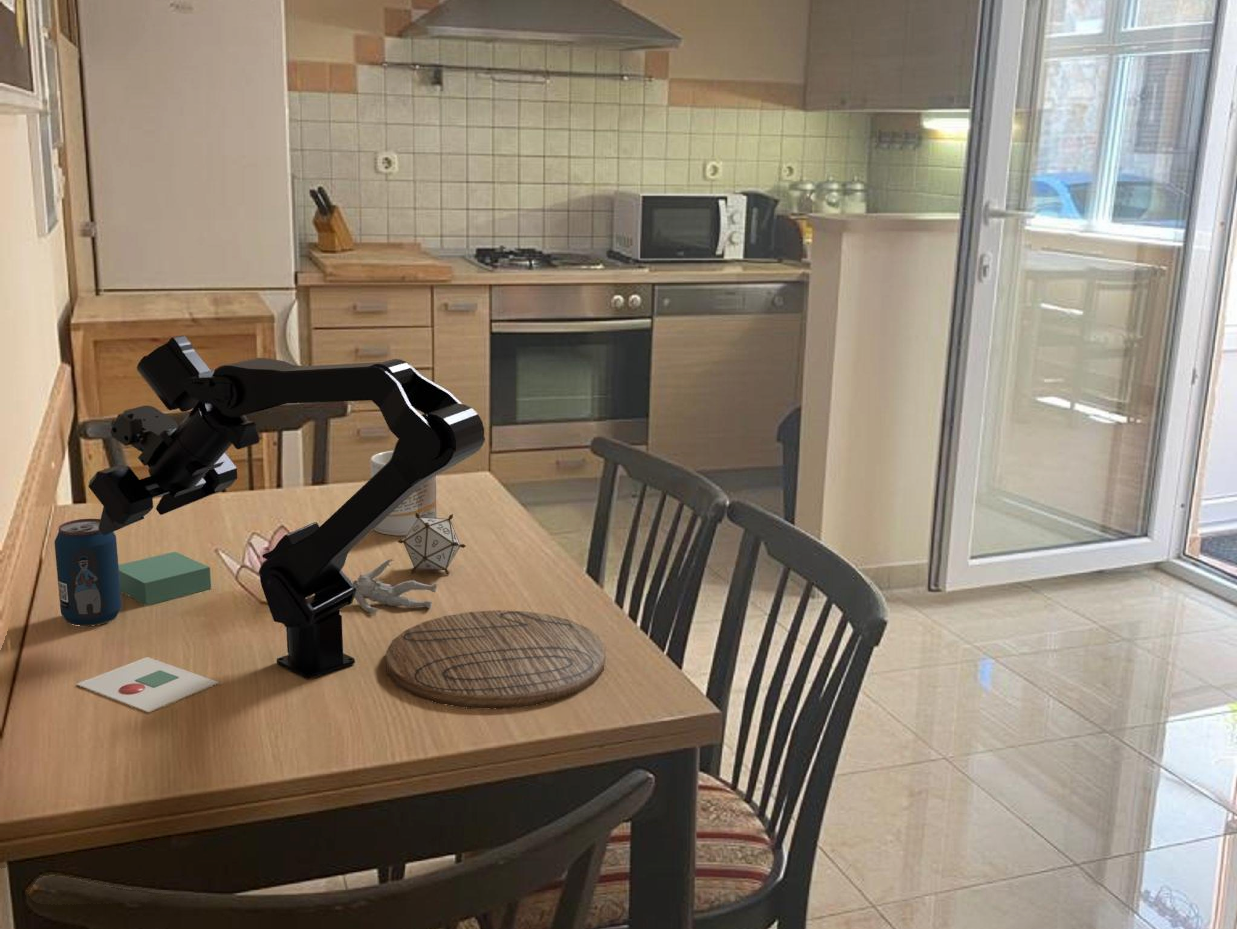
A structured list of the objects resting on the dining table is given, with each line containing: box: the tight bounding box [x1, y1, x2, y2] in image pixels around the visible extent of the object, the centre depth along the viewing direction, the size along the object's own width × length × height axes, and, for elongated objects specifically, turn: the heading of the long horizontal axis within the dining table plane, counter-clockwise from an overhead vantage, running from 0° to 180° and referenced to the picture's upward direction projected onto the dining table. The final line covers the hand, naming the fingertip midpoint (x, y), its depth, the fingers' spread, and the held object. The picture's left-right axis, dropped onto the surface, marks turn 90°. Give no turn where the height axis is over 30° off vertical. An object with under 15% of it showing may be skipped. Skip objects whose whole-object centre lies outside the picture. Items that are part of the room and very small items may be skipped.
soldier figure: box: [347, 558, 438, 615], centre depth 160 cm, size 8×5×12 cm
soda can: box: [53, 518, 123, 627], centre depth 153 cm, size 7×7×12 cm
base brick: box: [118, 551, 212, 606], centre depth 165 cm, size 10×9×3 cm
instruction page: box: [76, 656, 220, 713], centre depth 136 cm, size 12×9×1 cm
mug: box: [370, 450, 437, 537], centre depth 194 cm, size 10×12×11 cm
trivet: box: [385, 609, 606, 710], centre depth 144 cm, size 25×25×2 cm
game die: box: [397, 513, 467, 576], centre depth 173 cm, size 9×8×10 cm
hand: (131, 521), depth 148 cm, fingers open, 9 cm apart
